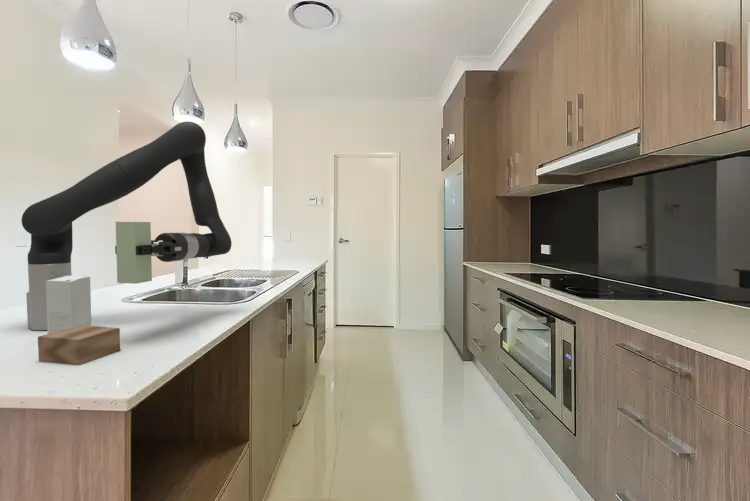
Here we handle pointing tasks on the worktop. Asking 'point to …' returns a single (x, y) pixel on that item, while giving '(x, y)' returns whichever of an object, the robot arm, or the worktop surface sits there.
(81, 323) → the skincare box
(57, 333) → the walnut riser block
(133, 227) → the sage block
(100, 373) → the worktop surface
